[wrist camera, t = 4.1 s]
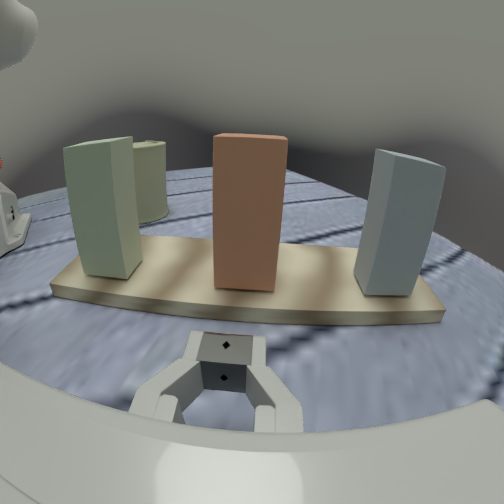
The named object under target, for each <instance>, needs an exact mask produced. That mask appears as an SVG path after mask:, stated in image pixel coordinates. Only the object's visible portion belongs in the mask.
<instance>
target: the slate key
mask: <svg viewBox="0 0 504 504" xmlns="http://www.w3.org/2000/svg"><path fill="white" fill-rule="evenodd" d="M445 172H446V167H444V166H441V165H438V164H436V163H433V162H430V161H428V160H425V159H422V158H418V157H414V156H409V155H405V154H400V153H396V152H390V151H386V150H380V149H376V151H375V159H374V166H373V173H372V180H371V186H370V192H369V199H368V204H367V209H366V215H365V220H364V225H363V230H362V235H361V239H360V244H359V249H358V253H357V257H356V262H355V266H354V270H353V272H354V274H355V276H356V278H357V280H358V282H359V284H360V286H361V289H362V291H363V293H364V295H411V294H412V292H413V289H414V286H415V284H416V281H417V278H418V275H419V272H420V270H421V267H422V264H423V260H424V257H425V254H426V251H427V248H428V244H429V241H430V237H431V234H432V230H433V227H434V223H435V219H436V215H437V211H438V207H439V202H440V197H441V193H442V188H443V183H444V177H445Z"/></svg>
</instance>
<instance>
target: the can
mask: <svg viewBox="0 0 504 504" xmlns="http://www.w3.org/2000/svg"><path fill="white" fill-rule="evenodd" d="M165 148H166V143H165V142H157V141H145V142H141V143H133V160H134V178H135V192H136V204H137V214H138V223H139V224H145V223H150V222H154V221H157V220H160V219H162V218H164V217H165V216H166V215H167V214H168V213H169V209H168V205H167V191H166V165H165V164H166V160H165V159H166V151H165Z"/></svg>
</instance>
